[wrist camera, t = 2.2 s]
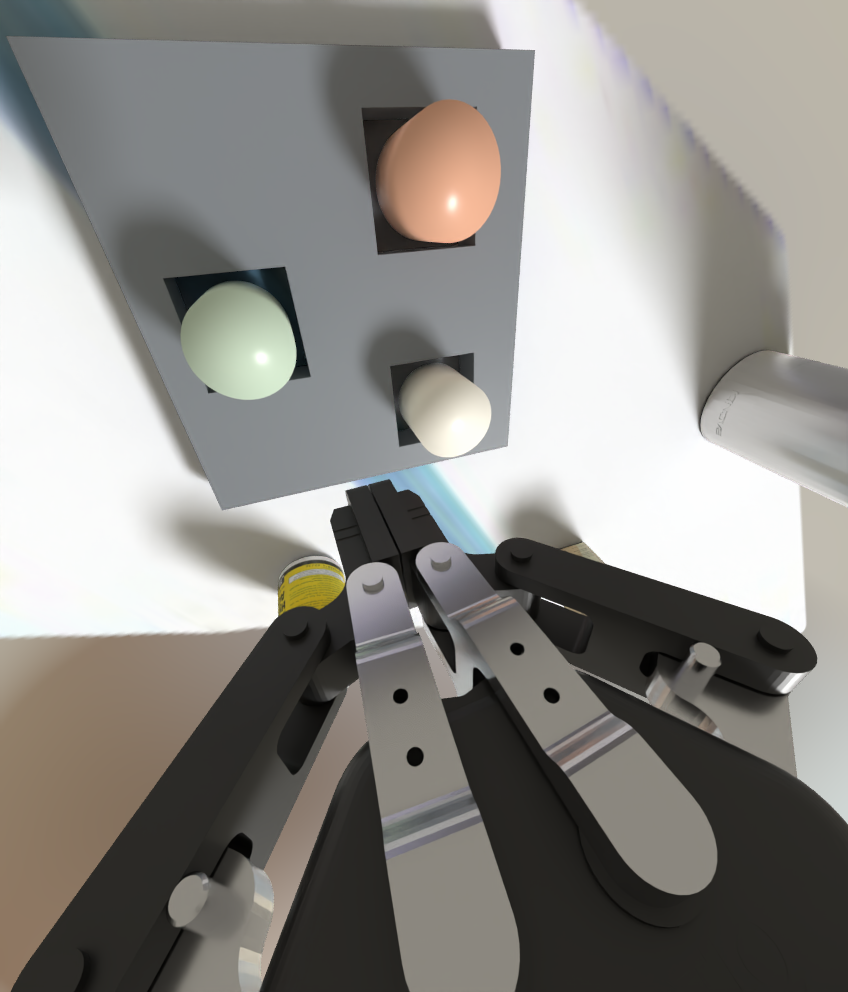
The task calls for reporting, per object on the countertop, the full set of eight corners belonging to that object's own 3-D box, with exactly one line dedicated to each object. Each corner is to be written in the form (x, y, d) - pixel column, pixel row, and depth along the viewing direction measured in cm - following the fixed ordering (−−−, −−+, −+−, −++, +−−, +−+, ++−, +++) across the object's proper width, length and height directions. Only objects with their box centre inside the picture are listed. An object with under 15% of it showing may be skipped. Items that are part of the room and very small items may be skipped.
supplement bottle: (269, 562, 31) (270, 672, 23) (338, 546, 32) (360, 645, 24) (285, 607, 34) (290, 718, 26) (347, 591, 35) (370, 692, 28)
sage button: (278, 275, 19) (281, 284, 16) (301, 368, 22) (306, 390, 19) (178, 285, 18) (160, 297, 15) (214, 381, 21) (205, 407, 18)
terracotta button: (463, 121, 19) (503, 98, 15) (464, 237, 21) (498, 238, 18) (369, 123, 18) (391, 99, 14) (381, 244, 20) (402, 247, 17)
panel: (508, 67, 19) (534, 50, 18) (493, 433, 31) (507, 446, 29) (38, 60, 15) (5, 36, 13) (225, 490, 26) (222, 510, 25)
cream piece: (464, 357, 25) (492, 376, 22) (464, 423, 28) (489, 448, 24) (394, 369, 24) (414, 389, 21) (402, 436, 27) (420, 464, 23)
